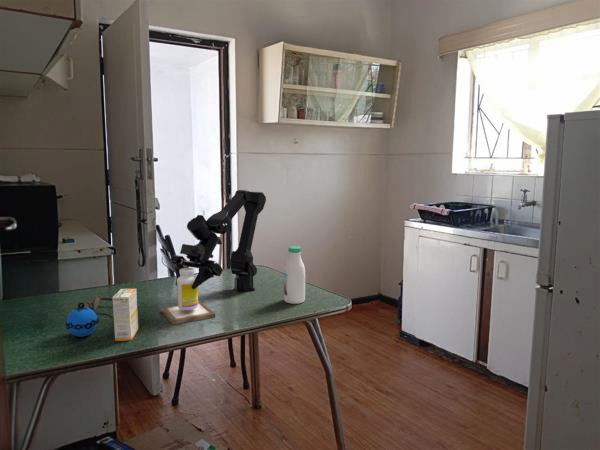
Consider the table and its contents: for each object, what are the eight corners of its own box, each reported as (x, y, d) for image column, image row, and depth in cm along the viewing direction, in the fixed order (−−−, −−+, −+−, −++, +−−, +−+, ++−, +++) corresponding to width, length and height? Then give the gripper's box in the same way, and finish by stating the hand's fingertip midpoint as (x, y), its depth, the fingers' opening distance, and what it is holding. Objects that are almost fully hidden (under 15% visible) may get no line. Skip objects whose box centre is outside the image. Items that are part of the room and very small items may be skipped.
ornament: (74, 344, 130) (71, 309, 129) (62, 335, 136) (59, 302, 134) (104, 335, 136) (102, 302, 135) (91, 328, 142) (89, 296, 141)
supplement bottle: (202, 306, 155) (201, 269, 153) (186, 312, 150) (184, 273, 148) (190, 302, 159) (188, 266, 157) (173, 307, 154) (172, 269, 152)
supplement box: (122, 330, 140) (120, 288, 139) (138, 330, 141) (136, 288, 139) (114, 341, 132) (111, 296, 130) (131, 340, 133) (129, 296, 131)
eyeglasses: (101, 306, 164) (100, 292, 163) (141, 307, 162) (140, 294, 162) (76, 320, 150) (75, 305, 149) (120, 322, 148) (119, 307, 147)
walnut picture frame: (201, 305, 164) (201, 301, 164) (215, 317, 152) (215, 313, 152) (161, 311, 157) (160, 307, 157) (172, 324, 145) (172, 320, 145)
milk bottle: (308, 299, 172) (309, 246, 169) (299, 305, 165) (300, 250, 162) (289, 296, 175) (289, 244, 172) (280, 302, 168) (280, 247, 165)
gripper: (172, 231, 159) (149, 270, 151) (216, 236, 150) (194, 278, 142) (189, 250, 167) (168, 288, 159) (231, 255, 158) (211, 296, 150)
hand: (184, 287), depth 152 cm, fingers closed on supplement bottle, 6 cm apart
